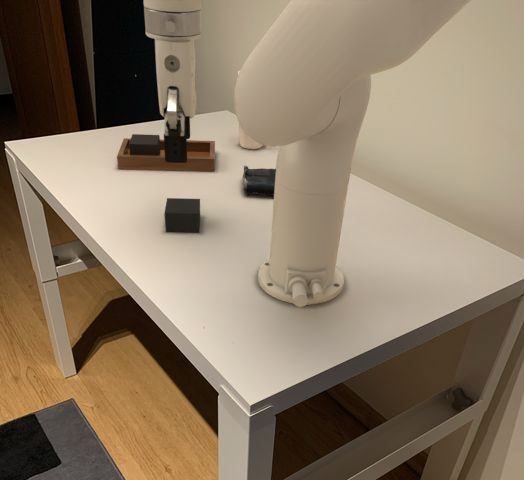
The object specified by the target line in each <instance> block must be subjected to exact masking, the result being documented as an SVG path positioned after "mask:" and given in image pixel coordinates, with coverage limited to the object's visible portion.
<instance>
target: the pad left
mask: <svg viewBox="0 0 524 480" xmlns="http://www.w3.org/2000/svg"><path fill="white" fill-rule="evenodd" d="M130 139H131V140H130V142H129V149H130V155H158V156H160V152H161V150H160V139H161V137H160V134H142V133H141V134H139V133H137V134H136V133H132V134H131V137H130Z"/></svg>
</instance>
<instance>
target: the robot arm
mask: <svg viewBox="0 0 524 480" xmlns="http://www.w3.org/2000/svg"><path fill="white" fill-rule="evenodd" d="M471 1H472V0H290V1H289V2H288V3H287V5H286V6H285V8H284V9H283V10H282V11H281V13H280V14H279V16H277V18H276V20H275V21H273V23H272V25H271V26H269V29H268V30H267V31H266V32H265V34H264V35H263V36H262V38H261V40H259V42H258V43H257V45H256V46H255V47H254V48H253V50H251V51H252V52H250V54H249V55H248V57H247V58H246V60H245V62H244V63H243V65H242V67H241V69H240V70H241V71H240V70H239V71H240V73H239V75H238V74H237V79H236V82H235V87H234V93H233V95H234V96H233V105H234V112H235V116H236V120H237V122H238V125H239V124H240V126H241V127H242V129H243V130H244V132H245V133H246V134H247V135H248V136H249V137H250V138H252V139H253V140H254V141H256V142H258V143H260V144H263V146H267V147H273V148H275V147H277V148H278V147H279V148H278V151H277V158H276V163H275V169H276V176H275V190H274V195H273V206H272V207H273V208H272V219H271V220H272V222H271V223H272V224H271V236H270V250H269V252H270V253H269V258H268V259H266V260H265V261H264V262H262V264H261V265H260V266H259V267H258V271H257V281H258V284H259V286H260V288H261V289H262V290H263V291H264V292H265V293H266V294H268V295H269V296H271V297H273V298H274V299H276V300H280V301H282V302H284V303H289V304H293V305H294V306H296V307H298V308H303V307H305V306H306V305H318V304H322V303H325V302H329V301H331V300H333V299H335V298H336V297H338V296H339V295H340V294H341V293H342V291H343V288H344V285H345V276H344V273H343V271H342V270H341V268H339V266H337V260H338V253H339V247H340V241H341V235H342V228H343V223H344V222H343V221H344V215H345V209H346V201H347V196H348V189H349V184H350V179H351V173H352V172H351V171H352V166H353V160H354V155H355V152H356V146H357V142H358V138H359V135H360V131H361V128H362V125H363V123H364V119H365V116H366V114H367V113H366V112H367V110H368V107H369V102H370V98H371V91H372V75H376V74H379V73H381V72H384V71H388V70H391V69H393V68H396V67H399V66H400V65H402V64H404V63H405V62H407V61H409V60H410V58H412V57H413V56H414V55H415V54H417V52H418V51H419V50H420V49H421V48H423V46H425V44H426V43H427V42H428V41H429V40H430V39H431V38H433V36H434V35H435V34H436V33H438V32H439V31H440V30H441V29H442V28H443V27H444V26H445V25H446V24H447V23H448V22H449V21H450V20H451V19H452V18H453V17H454V16H456V15H457V14H458V13H459V12H460V11H461V10H463V8H464V7H465V6H466V5H467V4H469V3H470V2H471ZM143 16H144V27H145V29H144V30H145V35H146V37H148V38H150V39H154V53H155V73H156V83H157V84H156V85H157V97H158V106H159V114H160V115H161V116H162V117H163V118H164V133H163V140H164V149H165V161H166V162H171V163H186V162H187V140H190V139H191V119H193V118H194V117H195V115H196V111H197V71H196V69H197V68H196V47H195V41H196V40H199V39H201V38H202V0H143Z"/></svg>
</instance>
